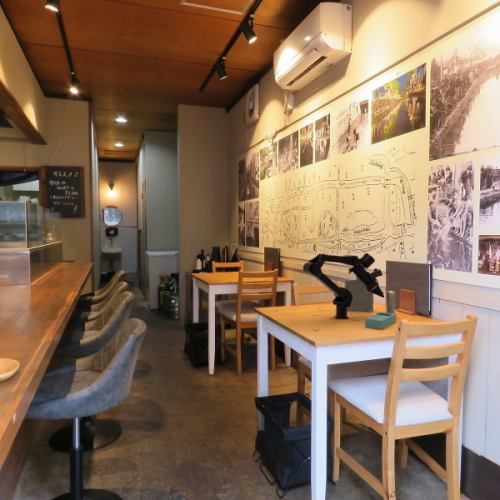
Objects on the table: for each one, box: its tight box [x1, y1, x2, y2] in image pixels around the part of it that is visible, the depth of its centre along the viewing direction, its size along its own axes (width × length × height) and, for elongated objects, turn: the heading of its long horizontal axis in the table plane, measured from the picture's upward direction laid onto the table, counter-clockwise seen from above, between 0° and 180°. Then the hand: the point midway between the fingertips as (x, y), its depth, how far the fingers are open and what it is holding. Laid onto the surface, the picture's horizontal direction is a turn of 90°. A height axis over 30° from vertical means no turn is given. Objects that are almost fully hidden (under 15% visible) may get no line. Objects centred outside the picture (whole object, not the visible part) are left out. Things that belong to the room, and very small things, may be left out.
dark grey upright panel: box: [344, 275, 374, 312], centre depth 234 cm, size 16×4×20 cm, turn 77°
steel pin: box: [385, 290, 396, 314], centre depth 215 cm, size 4×4×14 cm
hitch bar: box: [364, 311, 397, 330], centre depth 200 cm, size 20×8×4 cm, turn 143°
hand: (383, 295), depth 215 cm, fingers open, 9 cm apart
